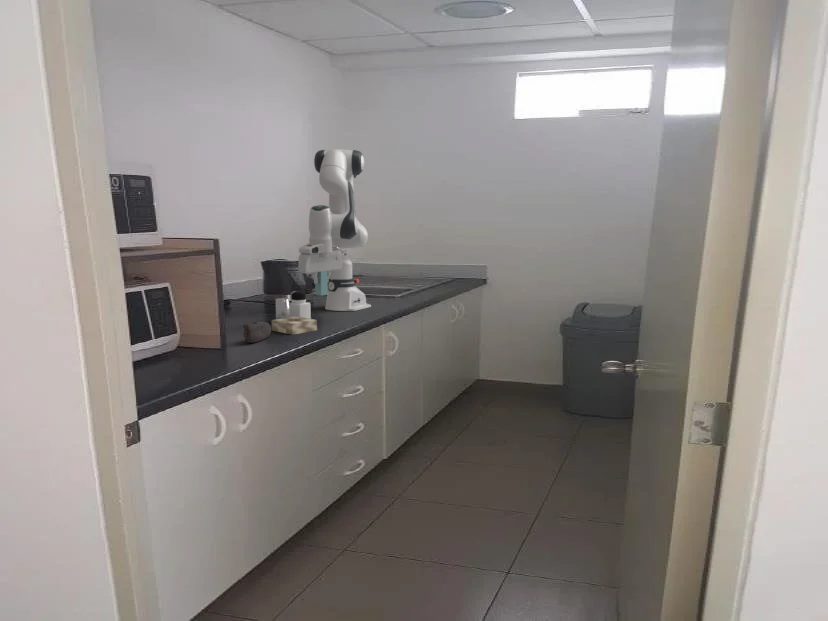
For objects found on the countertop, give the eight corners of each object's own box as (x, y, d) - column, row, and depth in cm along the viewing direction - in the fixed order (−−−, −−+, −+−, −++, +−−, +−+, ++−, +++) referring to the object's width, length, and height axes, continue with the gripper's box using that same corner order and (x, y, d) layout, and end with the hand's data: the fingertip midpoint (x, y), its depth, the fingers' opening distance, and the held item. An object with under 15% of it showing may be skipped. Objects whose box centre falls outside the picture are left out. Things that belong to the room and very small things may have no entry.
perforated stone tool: (264, 336, 230) (264, 317, 229) (277, 337, 228) (276, 318, 227) (238, 344, 216) (238, 324, 215) (251, 345, 214) (250, 325, 213)
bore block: (296, 326, 249) (296, 316, 248) (316, 330, 242) (316, 319, 241) (271, 330, 240) (271, 320, 239) (292, 334, 232) (292, 324, 232)
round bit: (284, 322, 258) (283, 297, 256) (292, 323, 254) (292, 299, 253) (273, 323, 254) (272, 299, 252) (282, 325, 250) (281, 300, 249)
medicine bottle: (311, 319, 264) (310, 291, 262) (299, 322, 258) (299, 293, 256) (298, 317, 268) (297, 289, 266) (286, 320, 262) (285, 291, 260)
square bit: (321, 293, 252) (321, 268, 250) (327, 294, 250) (327, 269, 248) (315, 294, 250) (314, 269, 248) (321, 295, 247) (320, 270, 246)
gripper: (334, 245, 256) (334, 279, 259) (295, 248, 241) (296, 284, 243) (345, 246, 253) (345, 281, 255) (306, 249, 237) (307, 286, 239)
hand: (321, 282), depth 249 cm, fingers closed on square bit, 3 cm apart
